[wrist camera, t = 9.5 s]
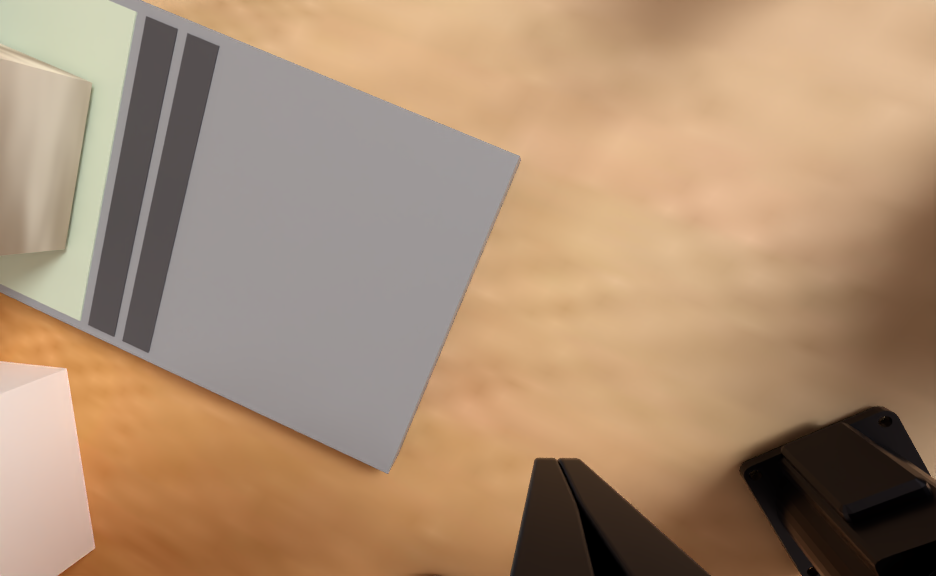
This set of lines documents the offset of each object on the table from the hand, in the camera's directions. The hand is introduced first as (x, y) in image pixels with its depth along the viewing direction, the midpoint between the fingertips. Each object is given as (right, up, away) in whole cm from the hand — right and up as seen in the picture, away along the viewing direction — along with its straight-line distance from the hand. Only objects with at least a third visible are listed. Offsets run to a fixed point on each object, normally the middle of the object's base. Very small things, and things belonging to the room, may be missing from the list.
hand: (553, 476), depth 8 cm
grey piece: (-14, +7, +13) cm, 21 cm away
